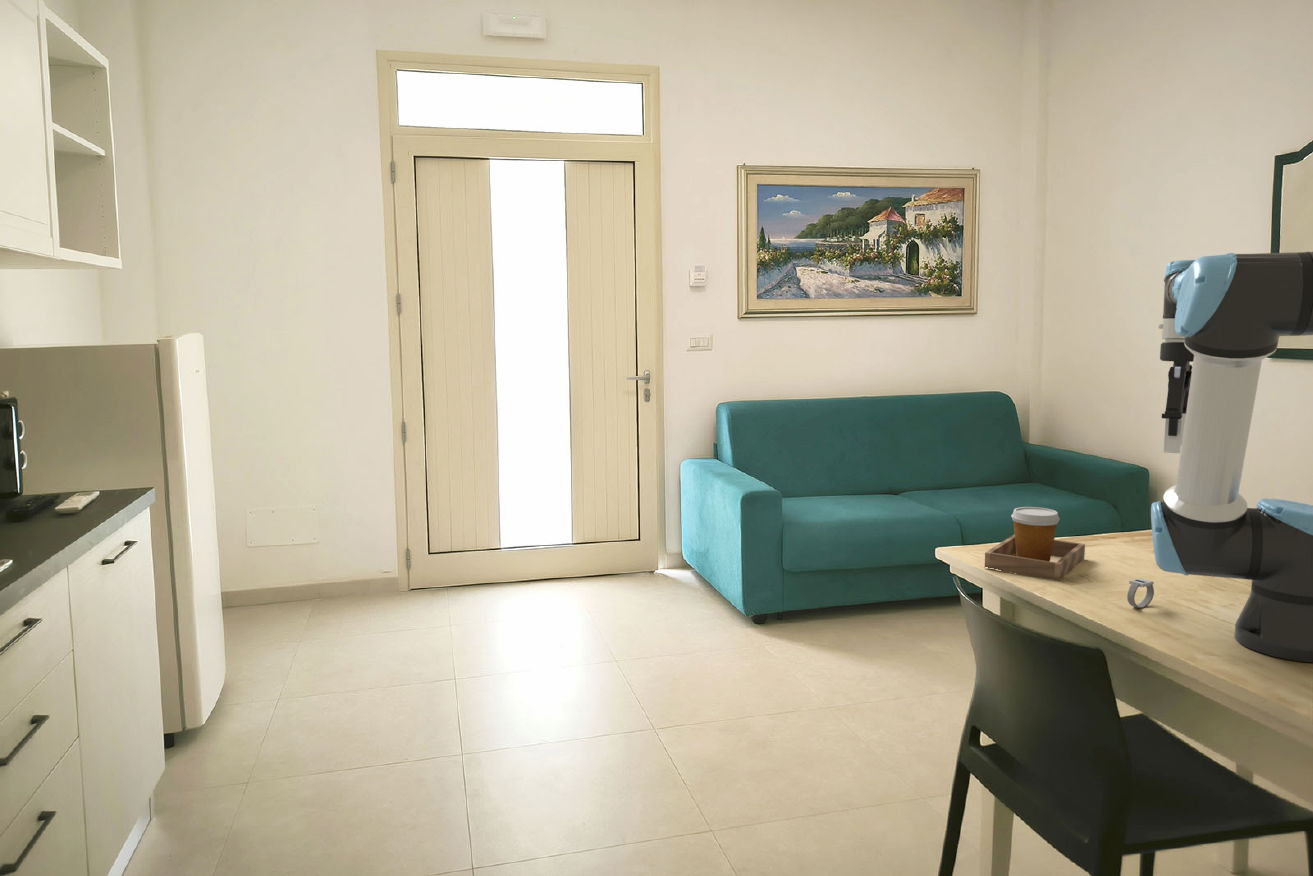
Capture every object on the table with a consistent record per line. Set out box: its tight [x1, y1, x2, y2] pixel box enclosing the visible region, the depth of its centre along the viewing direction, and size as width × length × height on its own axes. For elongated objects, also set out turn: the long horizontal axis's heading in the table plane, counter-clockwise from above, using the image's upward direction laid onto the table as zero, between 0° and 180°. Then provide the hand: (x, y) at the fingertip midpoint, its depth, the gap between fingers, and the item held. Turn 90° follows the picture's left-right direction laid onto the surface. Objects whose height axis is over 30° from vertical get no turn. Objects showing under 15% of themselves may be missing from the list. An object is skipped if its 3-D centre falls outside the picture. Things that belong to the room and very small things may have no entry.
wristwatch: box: [1126, 577, 1155, 609], centre depth 162 cm, size 6×3×5 cm, turn 119°
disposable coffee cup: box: [1011, 506, 1061, 562], centre depth 189 cm, size 10×10×12 cm
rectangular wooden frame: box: [984, 533, 1086, 582], centre depth 191 cm, size 20×15×4 cm
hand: (1175, 449), depth 175 cm, fingers open, 13 cm apart
